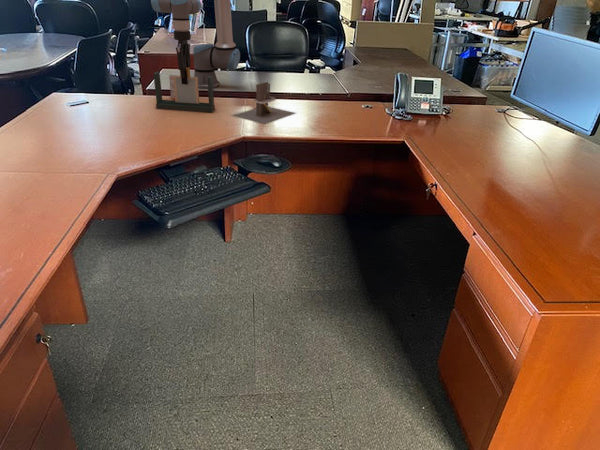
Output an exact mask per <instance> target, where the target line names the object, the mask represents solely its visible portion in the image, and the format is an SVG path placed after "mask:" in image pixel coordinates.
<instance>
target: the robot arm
mask: <svg viewBox="0 0 600 450" xmlns="http://www.w3.org/2000/svg"><path fill="white" fill-rule="evenodd" d="M213 3H214V4H213V5H214V14H215V17H214V18H215V27H216V29H215V30H216V40H217V41H216V43H215V44H214V43H201V44H196V45H195V46H193V49H192V50H193V51H192V55H193V67H194V74H193V77H198V89H208V79H207V77H209V76H213V89H215V88H218V87H219V85H220V82H219V81H218V78H217V74H216V70H227V71H236V69H238V67H239V64H240V60H241V51H240V49H239V48H237V44H236V43H235V42H234V38H233V22H232V19H233V18H232V5H231V0H213ZM150 5H151V9H152V10H153V11H154V12H157V13H161V14H162V13H163V14H164V13H165V14H167V13H168V14H171V15H172V18H171V19H172V21H171V24H172V29H173V40H175V41H177V47H175V51H176V56H177V57H176V59H177V66H178V67H177V68H178V71H180V70H181V82H182V84H185V85H187V84H188V81H187V70H186V67H190V69H192V66H191V44H190V43H188V41H190V40H191V39H192V34H191V31H190V30H191V20H190V16H192V15H196V14H198V13H200V12H201V10H202V3H201V1H200V0H150Z"/></svg>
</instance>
